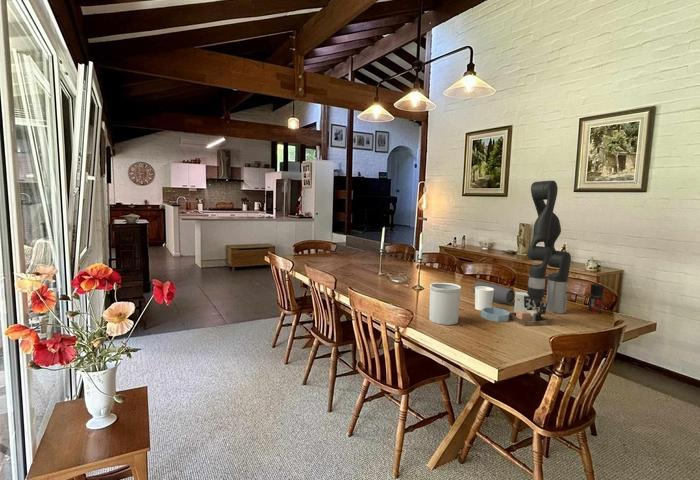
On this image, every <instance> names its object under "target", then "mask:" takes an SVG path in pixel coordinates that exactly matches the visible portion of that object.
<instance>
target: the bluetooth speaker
mask: <svg viewBox="0 0 700 480" xmlns="http://www.w3.org/2000/svg"><path fill="white" fill-rule="evenodd" d="M477 286H486V287H491V288H493V289H494V294H493V301H492V303H497V304H502V303H504V304H512V303H513V302H514V301H515V294H516V292H515V291H514V290H513V289H512V288H509V287H506V286H502V285H498V284H495V283H494V284H493V283H490V282H485V281H476V282H475V283H474V284H473V287H472V292H473V294H474V295H475V287H477Z"/></svg>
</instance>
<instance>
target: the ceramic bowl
mask: <svg viewBox="0 0 700 480" xmlns="http://www.w3.org/2000/svg"><path fill="white" fill-rule="evenodd" d="M510 313H511V312H510V311H508V310H507V309H504V308H498V307H494V306H492V307H488V308H483V309H482V310H481V311H480V317H481V318H482V319H485V320H487V321H492V322H496V323H501V322H502V323H503V322H509V320H511V319H510Z"/></svg>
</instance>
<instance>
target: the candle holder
mask: <svg viewBox="0 0 700 480" xmlns="http://www.w3.org/2000/svg"><path fill="white" fill-rule="evenodd" d="M493 294H494V289H493V288H491V287H486V286H477V287H475V294H474V309H476V311H480V312H481V310H482V309H483V308H488V307H493V302H492V301H493Z"/></svg>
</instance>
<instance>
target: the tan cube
mask: <svg viewBox="0 0 700 480" xmlns="http://www.w3.org/2000/svg"><path fill="white" fill-rule="evenodd" d="M530 314H531V313H529V312H527V311H525V310H523V311H517V312H516V317H517V318H519V319H521V320H523V321H525V322H527V321H530Z"/></svg>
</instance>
